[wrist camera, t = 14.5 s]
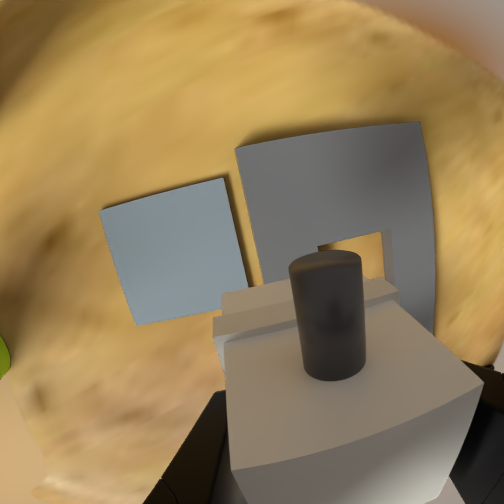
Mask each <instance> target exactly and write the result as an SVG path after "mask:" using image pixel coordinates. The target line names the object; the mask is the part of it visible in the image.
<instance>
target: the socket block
mask: <svg viewBox="0 0 504 504" xmlns="http://www.w3.org/2000/svg"><path fill="white" fill-rule="evenodd" d="M234 150H235V155H236V159H237V164H238V168H239V173H240V177H241V182H242V186H243V191H244V196H245V200H246V205H247V209H248V214H249V218H250V223H251V228H252V232H253V237H254V241H255V246H256V250H257V255H258V260H259V264H260V269H261V273H262V278H263V283H264V284H269V283H273V282H277V281H282V280H286V279H290V276H289V270H288V267H289V265H290V264H291V263H292V262H293V261H294V260H296V259H297V258H299V257H302V256H304V255H307V254H311V253H315V252H318V247H317V246H320V245H325V244H329V243H333V242H337V241H342V240H346V239H350V238H354V237H359V236H363V235H367V234H371V233H375V232H380V231H381V235H382V245H383V256H384V269H385V280H386V281H388V282H389V283H390V284H392V285H393V286H394V287H395V288H397V289H398V290H399V306H400V307H402V308H403V309H404V310H405V311H406V312H407V313H409V314H410V315H411V316H412V317H413V318H414V319H415V320H417V321H418V322H419V323H420V324H421V325H422V326H423V327H424V328H426V329H427V330H428V331H429V332H430V333H431V334H432V335H433V329H434V311H435V242H434V223H433V210H432V199H431V189H430V180H429V172H428V165H427V158H426V151H425V145H424V139H423V133H422V128H421V123H420V122H408V123H396V124H385V125H375V126H366V127H357V128H349V129H341V130H334V131H327V132H320V133H313V134H307V135H301V136H295V137H289V138H283V139H278V140H272V141H267V142H262V143H257V144H252V145H247V146H242V147H237V148H235V149H234Z"/></svg>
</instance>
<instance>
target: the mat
mask: <svg viewBox="0 0 504 504" xmlns="http://www.w3.org/2000/svg"><path fill="white" fill-rule="evenodd" d="M99 213H100V217H101V221H102V224H103V228H104V231H105V235H106V238H107V242H108V245H109V248H110V252H111V255H112V258H113V261H114V265H115V268H116V271H117V274H118V277H119V280H120V283H121V286H122V289H123V291H124V294H125V297H126V300H127V303H128V305H129V308H130V311H131V313H132V316H133V319H134V321H135V324H136V326H139V325H144V324H150V323H155V322H160V321H165V320H170V319H175V318H180V317H185V316H190V315H195V314H200V313H204V312H209V311H214V310H219V309H222V294H223V293H228V292H232V291H237V290H241V289H246V288H249V287H248V283H247V279H246V274H245V270H244V266H243V261H242V257H241V253H240V249H239V244H238V240H237V236H236V231H235V227H234V222H233V218H232V214H231V209H230V205H229V201H228V196H227V192H226V187H225V183H224V178H219V179H214V180H210V181H206V182H202V183H198V184H194V185H190V186H186V187H182V188H178V189H174V190H170V191H166V192H162V193H159V194H155V195H151V196H148V197H144V198H141V199H137V200H134V201H130V202H127V203H123V204H120V205H116V206H113V207H110V208H106V209H103V210H100V211H99Z"/></svg>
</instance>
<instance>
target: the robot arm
mask: <svg viewBox="0 0 504 504" xmlns="http://www.w3.org/2000/svg"><path fill="white" fill-rule="evenodd" d="M461 361H462V362H463V363H464V364H465V365H466V366H467V367H468V368H469V369H470V370H472V371H473V372H474V373H475V374H476V375H477V376H478V377H479V378H480V379H481V380H482V381H483V382H484V385H483V388H482V392H481V395H480V398H479V401H478V404H477V407H476V410H475V413H474V416H473V419H472V422H471V424H470V427H469V430H468V432H467V435H466V437H465V440H464V442H463V445H462V447H461V450H460V452H459V454H458V457H457V459H456V461H455V463H454V465H453V468H452V470H451V472H450V474H449V477H450V478H451V480H452V482H453V483H454V485H455V487H456V489H457V490H458V492H459V494H460V495H461V497H462V498H463V501H464V502H465V504H504V373H502V374H501V372H498V371H494V366H493V365H492V364H491V365H489V366H487V367H481V366H478V365H475V364H472V363H469V362H466V361H463V360H461ZM161 478H162V479H159V481H158V482H157V484H156V485H155V487H154V488H153V490H152V491H151V493H150V494H149V495H148V497H147V498H146V500H145V501H144V502H143V504H247V502H246V500H245V498H244V496H243V494H242V492H241V490H240V488H239V486H238V484H237V482H236V480H235V478H234V476H233V474H232V472H231V465H230V451H229V436H228V421H227V404H226V390H222V391H217V392H215V393H214V394H213V396H212V397H211V399H210V401H209V402H208V404H207V406H206V407H205V409H204V410H203V412H202V414H201V415H200V417H199V418H198V420H197V422H196V423H195V425H194V426H193V428H192V430H191V431H190V433H189V434H188V436H187V438H186V439H185V441H184V442H183V444H182V445H181V447H180V449H179V450H178V452H177V453H176V455H175V456H174V458H173V460H172V461H171V463H170V464H169V466H168V467H167V469H166V470H165V472H164V473H163V475H162V476H161Z"/></svg>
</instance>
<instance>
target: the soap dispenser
mask: <svg viewBox="0 0 504 504" xmlns="http://www.w3.org/2000/svg"><path fill="white" fill-rule="evenodd" d="M9 368H10V355H9V352H8V349H7V346H6V344H5V342H4V341H3V339H2V337H1V336H0V379H1V378H2V377H3V376H4V375H5V374H6V372H7V371H8V370H9Z"/></svg>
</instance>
